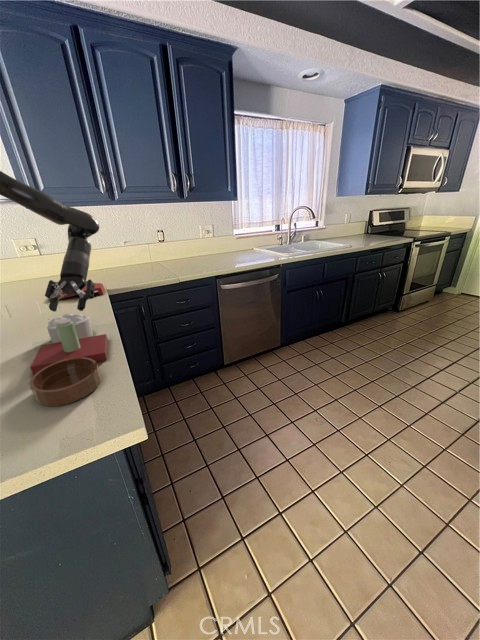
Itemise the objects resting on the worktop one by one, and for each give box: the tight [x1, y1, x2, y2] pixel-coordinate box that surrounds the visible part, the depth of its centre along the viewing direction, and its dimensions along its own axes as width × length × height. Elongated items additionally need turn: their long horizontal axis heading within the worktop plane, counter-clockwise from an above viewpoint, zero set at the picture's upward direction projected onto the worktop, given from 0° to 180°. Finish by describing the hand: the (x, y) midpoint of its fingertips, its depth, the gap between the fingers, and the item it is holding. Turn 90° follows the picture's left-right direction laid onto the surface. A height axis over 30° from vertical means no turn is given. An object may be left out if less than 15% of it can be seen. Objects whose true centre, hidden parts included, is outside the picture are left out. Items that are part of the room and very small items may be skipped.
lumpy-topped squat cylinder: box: [46, 313, 94, 344], centre depth 98 cm, size 10×13×9 cm
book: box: [29, 333, 109, 376], centre depth 88 cm, size 20×14×3 cm
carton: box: [59, 282, 106, 300], centre depth 145 cm, size 12×5×25 cm
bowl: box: [29, 357, 102, 407], centre depth 72 cm, size 16×16×5 cm
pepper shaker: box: [55, 319, 81, 352], centre depth 85 cm, size 5×5×10 cm
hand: (66, 310), depth 84 cm, fingers open, 8 cm apart
